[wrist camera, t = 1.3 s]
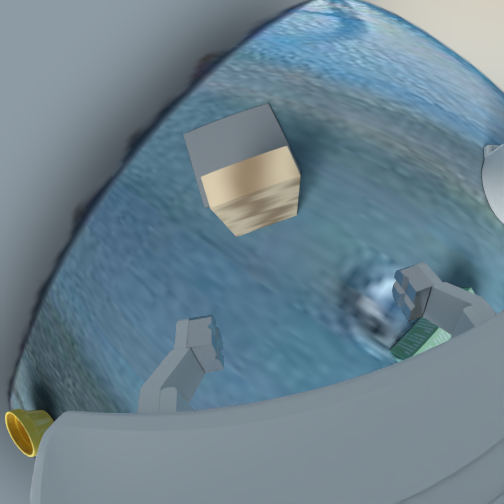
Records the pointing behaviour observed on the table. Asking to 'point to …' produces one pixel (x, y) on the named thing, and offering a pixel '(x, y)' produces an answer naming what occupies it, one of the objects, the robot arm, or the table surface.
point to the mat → (233, 141)
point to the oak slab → (254, 191)
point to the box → (420, 338)
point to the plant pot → (27, 428)
